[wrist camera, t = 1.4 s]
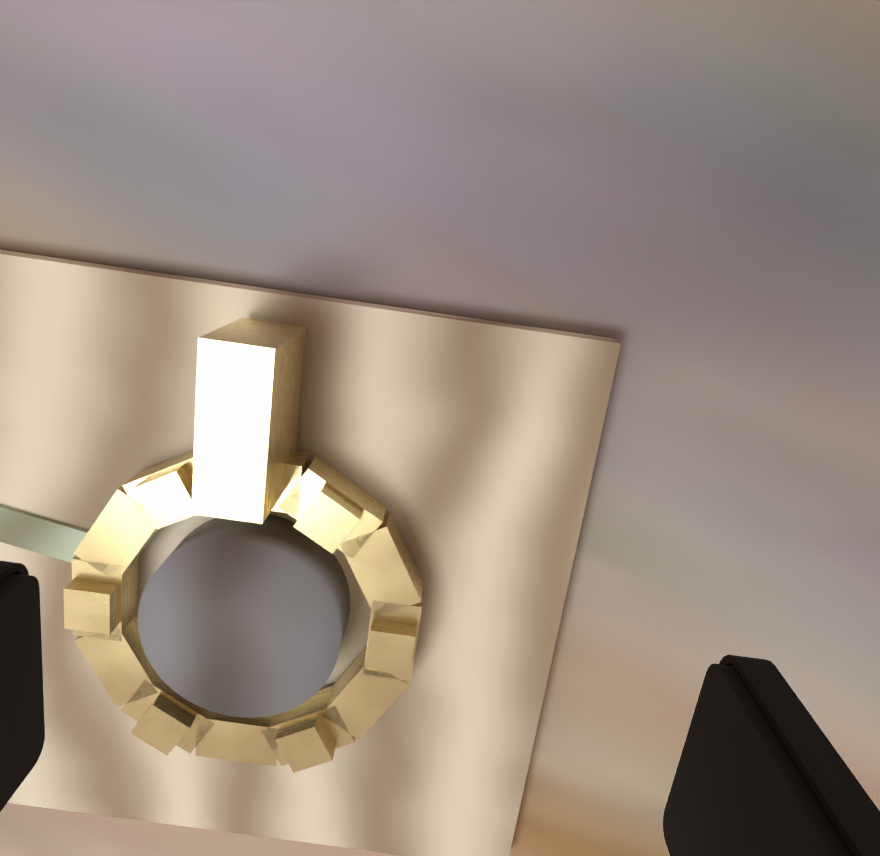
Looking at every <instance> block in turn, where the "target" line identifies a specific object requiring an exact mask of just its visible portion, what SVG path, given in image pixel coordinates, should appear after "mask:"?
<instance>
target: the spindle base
mask: <svg viewBox="0 0 880 856" xmlns="http://www.w3.org/2000/svg"><path fill="white" fill-rule="evenodd" d="M241 318H249V319H256V320H263V321H270V322H277V323H284V324H291V325H298V326H305V327H306V338H305V350H304V362H303V374H302V386H301V397H300V409H299V421H298V433H297V445H296V451H298V452H305V453H310V462H309V464H310V463H311V461H312V460H313V459H314V457H315V456H317V457H319V458H320V459H322V460H323V461H324V462H326V463H327V464H328V465H330V466H331V467H333V468H334V469H335V470H337V471H338V472H340V473H341V474H342V475H344V476H345V477H346V478H348V479H349V480H351V481H352V482H353V483H355V484H356V485H358V486H359V487H360V488H362V489H363V490H364V491H366V492H367V493H369V494H370V495H371V496H373V497H374V498H376V499H377V500H378V501H380V502H381V503H382V504H384V505H385V506H387V507H386V511H385V513H386V512H389V511H391V514H392V516H393V518H394V520H395V522H396V524H397V527H398V529H399V531H400V533H401V535H402V538H403V540H404V542H405V544H406V546H407V549H408V551H409V553H410V555H411V557H412V559H413V562H414V564H415V566H416V568H417V570H418V573H419V575H420V577H421V579H422V581H423V588H424V593H423V603H422V611H421V618H420V625H419V631H418V638H417V645H416V651H415V658H414V665H413V671H412V678H411V681H409V686H408V687H407V688H406V689H405V690H404V691H403V693H402V694H401V695H400V696H399V697H398V698H397V699H396V700H395V701H394V702H393V703H392V705H391V706H390V707H389V708H388V709H387V710H386V711H385V712H384V713H383V714H382V715H381V717H380V718H379V719H378V720H377V721H376V722H375V723H374V724H373V725H372V726H371V727H370V729H369V730H368V731H367V732H366V733H365V734H364V735H363V736H362V737H361V738H360V740H359V739H357V738H356V739H355V743H352V744H349V745H346V746H343V747H340V748H336V749H335V752H334V756H333V760H332V761H330V762H326V763H323V764H320V765H317V766H314V767H311V768H308V769H304V770H301V771H298V772H295V773H293V771H292V769H291V767H290V765H289V764H286V765H283V766H281V765H280V763H279V761H278V762H277V765H276V767H275V766H268V765H260V764H253V763H245V762H238V761H230V760H223V759H215V758H208V757H201V756H196V748H195V749H194V750H193V751H192V752H191V754H190V753H188V752H186V751H185V750H183V749H181V748H180V747H178V746H177V745H176V746H175V747H174V748H173V749H172V751H171V752H170V753H169V754H168V756H167V755H165V754H163V753H162V752H160V751H158V750H157V749H155V748H154V747H152V746H150V745H149V744H147V743H145V742H144V741H142V740H140V739H139V738H137V737H136V736H134V735H132V734H131V732H132V730H133V729H134V727H135V725H136V724H137V722H138V721H136V720H134V719H133V718H131V717H130V716H128V715H126V714H125V713H123V712H121V710H122V708H123V707H124V705H125V704H124V705H121V706H118V707H116V705H115V704H114V702H113V701H112V699H111V697H110V696H109V694H108V693H107V691H106V689H105V688H104V686H103V685H102V683H101V681H100V680H99V678H98V677H97V675H96V674H95V672H94V670H93V669H92V667H91V666H90V664H89V662H88V661H87V659H86V658H85V656H84V654H83V653H82V651H81V650H80V648H79V646H78V645H77V643H76V642H75V639H76V638H77V637H78V636H77V635H73V630H72V629H65V628H64V591H63V588H64V587H65V586H67V585H68V584H69V583H70V582H71V581H72V558H73V557H74V556H75V555H74V554H73V553H74V552H75V550H76V549H77V547H78V546H79V544H80V543H81V542H82V540H83V539H84V537H85V536H86V534H87V533H88V531H89V530H90V528H91V527H92V526H93V524H94V523H95V521H96V520H97V518H98V517H99V515H100V514H101V512H102V511H103V510H104V508H105V507H106V505H107V504H108V502H109V501H110V499H111V498H112V497H113V495H114V494H115V492H116V491H117V489H118V488H120V487H121V486H122V485H123V484H125V483H126V482H127V481H129V480H130V479H131V478H132V477H134V476H135V475H136V474H137V473H139V472H140V471H143V470H145V469H148V468H151V467H153V466H156V465H158V464H161V463H163V462H166V461H168V460H171V459H173V458H176V457H178V456H181V455H183V454H186V453H189V452H191V451H194V432H195V406H196V380H197V355H198V338H199V337H201V336H203V335H205V334H207V333H210V332H212V331H214V330H216V329H218V328H221V327H223V326H225V325H227V324H229V323H232V322H234V321H236V320H238V319H241ZM620 346H621V343H620V342H618V341H617V340H616V339H614V338H608V337H601V336H595V335H588V334H581V333H574V332H567V331H560V330H553V329H546V328H539V327H532V326H525V325H518V324H512V323H505V322H498V321H491V320H484V319H477V318H470V317H463V316H456V315H449V314H442V313H435V312H429V311H422V310H415V309H408V308H401V307H394V306H387V305H380V304H373V303H366V302H359V301H352V300H345V299H339V298H332V297H325V296H318V295H311V294H304V293H297V292H290V291H283V290H276V289H269V288H262V287H256V286H249V285H242V284H235V283H228V282H221V281H214V280H207V279H200V278H193V277H186V276H179V275H173V274H166V273H159V272H152V271H145V270H138V269H131V268H124V267H117V266H110V265H103V264H96V263H90V262H83V261H76V260H69V259H62V258H55V257H48V256H41V255H34V254H27V253H20V252H13V251H7V250H0V561H7V562H15V563H22V564H23V565H25V566H26V568H27V570H28V572H29V575H31V576H35V577H36V578H37V580H38V581H39V587H40V614H41V641H42V668H43V696H44V723H45V740H44V745H43V749H42V752H41V754H40V757H39V759H38V761H37V763H36V764H35V766H34V767H33V769H32V770H31V771H30V773H29V774H28V775H27V777H26V778H25V779H24V781H23V782H22V783H21V785H20V786H19V787H18V789H17V790H16V791H15V793H14V794H13V795H12V797H11V798H10V799H9V801H8V802H7V803H14V804H21V805H29V806H36V807H44V808H51V809H59V810H66V811H74V812H81V813H89V814H96V815H104V816H111V817H119V818H127V819H134V820H142V821H149V822H157V823H164V824H172V825H179V826H187V827H194V828H202V829H209V830H217V831H224V832H232V833H239V834H247V835H254V836H262V837H269V838H277V839H285V840H292V841H300V842H307V843H315V844H322V845H330V846H337V847H345V848H352V849H360V850H367V851H375V852H382V853H390V854H397V855H405V856H509V855H510V850H511V846H512V841H513V836H514V832H515V827H516V823H517V818H518V814H519V809H520V804H521V800H522V795H523V791H524V786H525V781H526V777H527V772H528V768H529V763H530V759H531V754H532V749H533V745H534V740H535V736H536V731H537V727H538V722H539V717H540V713H541V708H542V704H543V699H544V694H545V690H546V685H547V681H548V676H549V672H550V667H551V662H552V658H553V653H554V649H555V644H556V639H557V635H558V630H559V626H560V621H561V617H562V612H563V607H564V603H565V598H566V594H567V589H568V584H569V580H570V575H571V571H572V566H573V562H574V557H575V552H576V548H577V543H578V539H579V534H580V530H581V525H582V520H583V516H584V511H585V507H586V502H587V497H588V493H589V488H590V484H591V479H592V475H593V470H594V465H595V461H596V456H597V452H598V447H599V442H600V438H601V433H602V429H603V424H604V420H605V415H606V410H607V406H608V401H609V397H610V392H611V387H612V383H613V378H614V374H615V369H616V365H617V360H618V355H619V351H620ZM296 521H297V520H296V519H295V518H293V517H292V516H291V515H289V514H288V513H282V512H275V511H271V512H270V513H269V515H268V517H267V518H266V520H265V521H264V523H263V524H258V523H251V522H244V521H237V520H229V519H222V518H215V517H208V516H201V515H194V516H191V517H189V518H186V519H183V520H181V521H178V522H175V523H173V524H170V525H168V526H165V527H162V528H160V529H159V530H158V531H157V533H156V534H155V535H154V537H153V538H152V540H151V541H150V542H149V544H148V545H147V546H146V548H145V549H144V551H143V552H142V553H141V555H140V556H139V567H138V631H139V636H140V641H141V644H142V647H143V650H144V652H145V655H146V656H147V658H148V660H149V662H150V664H151V666H152V667H153V668H154V670H155V671H156V673H157V674H158V675H159V676H160V678H161V679H162V680H163V681H164V682H165V683H166V684H167V685H168V686H169V687H170V688H171V689H172V690H174V691H175V692H176V693H177V694H179V695H180V696H182V697H183V698H184V699H186V700H188V701H190V702H191V703H193V704H195V705H197V706H199V707H201V708H204V709H206V710H209V711H212V712H215V713H218V714H222V715H227V716H233V717H244V718H253V717H265V716H271V715H275V714H279V713H283V712H285V711H288V710H290V709H293V708H295V707H297V706H299V705H300V704H302V703H304V702H305V701H307V700H308V699H309V698H311V697H312V696H313V695H314V694H315V693H316V692H317V691H318V690H321V689H324V688H327V687H330V686H333V685H334V684H335V683H336V681H337V680H338V679H339V678H340V677H341V676H342V675H343V673H344V672H345V671H346V670H347V669H348V668H349V667H350V665H351V664H352V663H353V662H354V661H355V660H356V659H357V657H358V656H359V655H360V654H361V653H362V652H363V651H364V649H365V648H366V647H367V639H368V631H369V623H370V615H371V608H370V606H369V604H368V602H367V600H366V598H365V595H364V593H363V591H362V589H361V587H360V585H359V583H358V581H357V579H356V577H355V575H354V573H353V571H352V569H351V567H350V565H349V563H348V561H347V558H346V556H345V554H344V553H343V552H342V551H340V550H339V549H338V548H337V549H336V550H335V552H334V553H333V554H332V553H330V552H329V551H327V550H326V549H324V548H323V547H322V546H320V545H319V544H317V543H316V542H314V541H313V540H312V539H310V538H309V537H307V536H306V535H304V534H303V533H302V532H300V531H299V530H297V529H296V528H294V527H293V526H294V524H295V523H296Z"/></svg>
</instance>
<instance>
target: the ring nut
mask: <svg viewBox="0 0 880 856" xmlns="http://www.w3.org/2000/svg"><path fill="white" fill-rule="evenodd" d="M305 338H306V327H305V326H298V325H291V324H284V323H277V322H270V321H263V320H256V319H249V318H241V319H238V320H236V321H234V322H232V323H229V324H227V325H225V326H223V327H221V328H218V329H216V330H214V331H212V332H210V333H207V334H205V335H203V336H201V337H199V338H198V355H197V380H196V406H195V432H194V451H191V452H189V453H186V454H183V455H181V456H178V457H176V458H173V459H171V460H168V461H166V462H163V463H161V464H158V465H156V466H153V467H151V468H148V469H145V470H143V471H140V472H139V473H137V474H136V475H135V476H134V477H132V478H131V479H130V480H129V481H127V482H126V483H125V484H123V485H122V486H121V487H120V488H118V489H117V491H116V492H115V494H114V495H113V497H112V498H111V499H110V501H109V502H108V504H107V505H106V507H105V508H104V510H103V511H102V512H101V514H100V515H99V517H98V518H97V520H96V521H95V523H94V524H93V526H92V527H91V528H90V530H89V531H88V533H87V534H86V536H85V537H84V539H83V540H82V542H81V543H80V544H79V546H78V547H77V549H76V550H75V552H74V553H73V554H74V555H75V556H74V557H73V558H72V581H71V582H70V583H69V584H68V585H67V586H65V587H64V588H63V591H64V628H65V629H72V630H73V635H77V636H78V637H77V638H76V639H75V642H76V643H77V645H78V646H79V648H80V650H81V651H82V653H83V654H84V656H85V658H86V659H87V661H88V662H89V664H90V666H91V667H92V669H93V670H94V672H95V674H96V675H97V677H98V678H99V680H100V681H101V683H102V685H103V686H104V688H105V689H106V691H107V693H108V694H109V696H110V697H111V699H112V701H113V702H114V704H115V705H116V707H118V706H121V705H124V704H125V705H124V707H123V708H122V710H121V712H123V713H125V714H126V715H128V716H130V717H131V718H133V719H134V720H136V721H138V722H137V724H136V725H135V727H134V729H133V730H132V732H131V734H132V735H134V736H136V737H137V738H139V739H140V740H142V741H144V742H145V743H147V744H149V745H150V746H152V747H154V748H155V749H157V750H158V751H160V752H162V753H163V754H165V755H167V756H168V754H169V753H170V752H171V751H172V749H173V748H174V747H175V746H176V745H177V746H178V747H180V748H181V749H183V750H185V751H186V752H188V753H190V754H191V752H192V751H193V750H194V749H195V748H196V756H201V757H208V758H215V759H223V760H230V761H238V762H245V763H253V764H260V765H268V766H275V767H276V765H277V762H278V761H279V763H280V765H281V766H283V765H286V764H289V765H290V767H291V769H292V771H293V773H295V772H298V771H301V770H304V769H308V768H311V767H314V766H317V765H320V764H323V763H326V762H330V761H332V760H333V756H334V752H335V749H336V748H340V747H343V746H346V745H349V744H352V743H355V739H356V738H357V739H359V740H360V738H361V737H362V736H363V735H364V734H365V733H366V732H367V731H368V730H369V729H370V727H371V726H372V725H373V724H374V723H375V722H376V721H377V720H378V719H379V718H380V717H381V715H382V714H383V713H384V712H385V711H386V710H387V709H388V708H389V707H390V706H391V705H392V703H393V702H394V701H395V700H396V699H397V698H398V697H399V696H400V695H401V694H402V693H403V691H404V690H405V689H406V688H407V687H408V686H409V681H411V678H412V671H413V665H414V658H415V651H416V645H417V638H418V631H419V625H420V618H421V611H422V603H423V593H424V588H423V581H422V579H421V577H420V575H419V573H418V570H417V568H416V566H415V564H414V562H413V559H412V557H411V555H410V553H409V551H408V549H407V546H406V544H405V542H404V540H403V538H402V535H401V533H400V531H399V529H398V527H397V524H396V522H395V520H394V518H393V516H392V514H391V511H389V512H386V513H385V511H386V507H387V506H385V505H384V504H382V503H381V502H380V501H378V500H377V499H376V498H374V497H373V496H371V495H370V494H369V493H367V492H366V491H364V490H363V489H362V488H360V487H359V486H358V485H356V484H355V483H353V482H352V481H351V480H349V479H348V478H346V477H345V476H344V475H342V474H341V473H340V472H338V471H337V470H335V469H334V468H333V467H331V466H330V465H328V464H327V463H326V462H324V461H323V460H322V459H320V458H319V457H317V456H315V457H314V459H313V460H312V461H311V463H310V464H309V462H310V453H305V452H298V451H296V445H297V433H298V421H299V409H300V397H301V386H302V374H303V362H304V350H305ZM271 511H275V512H282V513H288V514H289V515H291V516H292V517H293V518H295V519H296V520H297V521H296V523H295V524H294V526H293V527H294V528H296V529H297V530H299V531H300V532H302V533H303V534H304V535H306V536H307V537H309V538H310V539H312V540H313V541H314V542H316V543H317V544H319V545H320V546H322V547H323V548H324V549H326V550H327V551H329V552H330V553H332V554H333V553H334V552H335V550H336V549H337V548H338V549H339V550H340V551H342V552H343V553H344V554H345V556H346V558H347V561H348V563H349V565H350V567H351V569H352V571H353V573H354V575H355V577H356V579H357V581H358V583H359V585H360V587H361V589H362V591H363V593H364V595H365V598H366V600H367V602H368V604H369V606H370V608H371V615H370V623H369V631H368V639H367V647H366V648H365V649H364V651H363V652H362V653H361V654H360V655H359V656H358V657H357V659H356V660H355V661H354V662H353V663H352V664H351V665H350V667H349V668H348V669H347V670H346V671H345V672H344V673H343V675H342V676H341V677H340V678H339V679H338V680H337V681H336V683H335V684H334V685H333V686H330V687H327V688H324V689H321V690H318V691H317V692H316V693H315V694H314V695H313V696H312V697H311V698H309V699H308V700H307V701H305V702H304V703H302V704H300V705H299V706H297V707H295V708H293V709H290V710H288V711H285V712H283V713H279V714H275V715H271V716H265V717H253V718H244V717H233V716H227V715H222V714H218V713H215V712H212V711H209V710H206V709H204V708H201V707H199V706H197V705H195V704H193V703H191V702H190V701H188V700H186V699H184V698H183V697H182V696H180V695H179V694H177V693H176V692H175V691H174V690H172V689H171V688H170V687H169V686H168V685H167V684H166V683H165V682H164V681H163V680H162V679H161V678H160V676H159V675H158V674H157V673H156V671H155V670H154V668H153V667H152V666H151V664H150V662H149V660H148V658H147V656H146V655H145V652H144V650H143V647H142V644H141V641H140V636H139V631H138V567H139V556H140V555H141V553H142V552H143V551H144V549H145V548H146V546H147V545H148V544H149V542H150V541H151V540H152V538H153V537H154V535H155V534H156V533H157V531H158V530H159V529H160V528H162V527H165V526H168V525H170V524H173V523H175V522H178V521H181V520H183V519H186V518H189V517H191V516H194V515H201V516H208V517H215V518H222V519H229V520H237V521H244V522H251V523H258V524H263V523H264V521H265V520H266V518H267V517H268V515H269V513H270V512H271Z"/></svg>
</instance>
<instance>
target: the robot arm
mask: <svg viewBox="0 0 880 856" xmlns="http://www.w3.org/2000/svg"><path fill="white" fill-rule="evenodd" d="M44 740H45V723H44V696H43V668H42V641H41V614H40V587H39V581H38V580H37V578H36V577H35V576H31V575H29V572H28V570H27V568H26V566H25V565H23V564H22V563H15V562H7V561H0V812H1V810H2V809H3V808H4V806H5V805H6V804H7V802H8V801H9V799H10V798H11V797H12V795H13V794H14V793H15V791H16V790H17V789H18V787H19V786H20V785H21V783H22V782H23V781H24V779H25V778H26V777H27V775H28V774H29V773H30V771H31V770H32V769H33V767H34V766H35V764H36V763H37V761H38V759H39V757H40V754H41V752H42V749H43V745H44ZM663 830H664V837H665V841H666V845H667V847H668V850H669V853H670V856H880V811H879V810H878V808H877V807H876V806H875V804H874V803H873V801H872V800H871V799H870V797H869V796H868V794H867V793H866V792H865V790H864V789H863V788H862V786H861V785H860V783H859V782H858V781H857V779H856V778H855V776H854V775H853V774H852V772H851V771H850V769H849V768H848V767H847V765H846V764H845V763H844V761H843V760H842V758H841V757H840V756H839V754H838V753H837V751H836V750H835V749H834V747H833V746H832V744H831V743H830V742H829V740H828V739H827V737H826V736H825V735H824V733H823V732H822V731H821V729H820V728H819V726H818V725H817V724H816V722H815V721H814V719H813V718H812V717H811V715H810V714H809V712H808V711H807V710H806V708H805V707H804V705H803V704H802V703H801V701H800V700H799V699H798V697H797V696H796V694H795V693H794V692H793V690H792V689H791V687H790V686H789V685H788V683H787V682H786V680H785V679H784V678H783V676H782V675H781V673H780V672H779V671H778V669H777V668H776V667H775V665H774V664H773V663H772V662H771V661H768V660H765V659H757V658H749V657H741V656H734V655H727V656H724V657H723V659H722V660H721V661H720V663H719V664H712V665H710V667H709V668H708V670H707V672H706V675H705V678H704V682H703V685H702V688H701V692H700V695H699V698H698V702H697V705H696V708H695V712H694V715H693V718H692V721H691V725H690V728H689V731H688V735H687V738H686V741H685V745H684V748H683V751H682V754H681V758H680V761H679V764H678V768H677V771H676V774H675V778H674V781H673V784H672V788H671V791H670V794H669V797H668V801H667V804H666V807H665V811H664V817H663Z"/></svg>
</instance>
